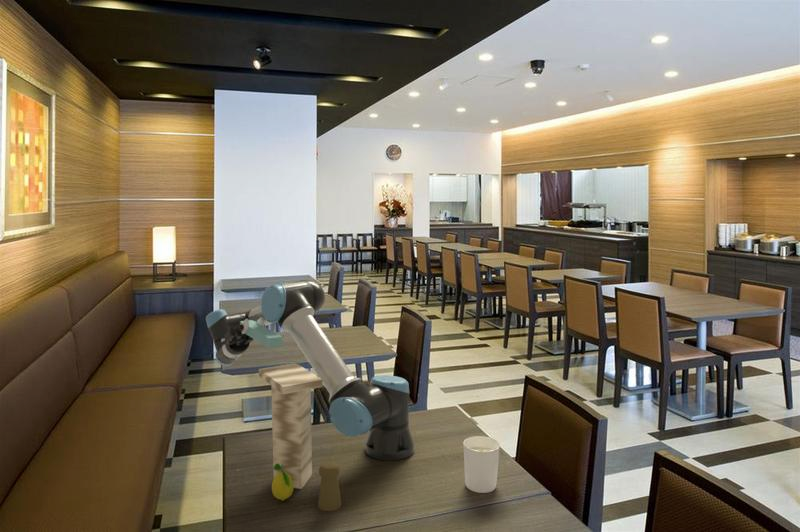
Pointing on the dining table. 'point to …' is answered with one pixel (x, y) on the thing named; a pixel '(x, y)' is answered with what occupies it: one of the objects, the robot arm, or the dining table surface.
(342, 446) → the dining table surface
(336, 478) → the cork
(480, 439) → the candle holder
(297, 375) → the stand
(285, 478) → the lemon
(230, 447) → the dining table surface
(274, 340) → the bar
